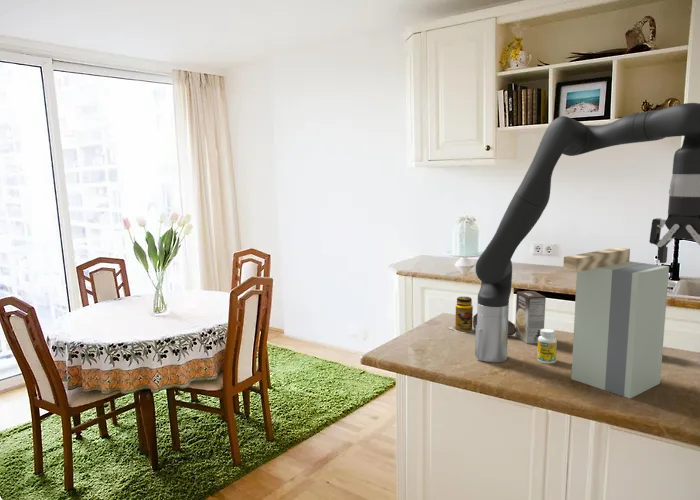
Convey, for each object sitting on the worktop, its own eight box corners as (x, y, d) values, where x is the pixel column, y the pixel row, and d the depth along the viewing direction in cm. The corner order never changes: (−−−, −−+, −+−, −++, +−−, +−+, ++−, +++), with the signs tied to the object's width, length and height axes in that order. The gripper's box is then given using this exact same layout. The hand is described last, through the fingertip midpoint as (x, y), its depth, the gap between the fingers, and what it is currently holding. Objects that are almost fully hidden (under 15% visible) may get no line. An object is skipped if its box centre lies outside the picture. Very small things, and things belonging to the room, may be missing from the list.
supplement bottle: (555, 358, 160) (556, 328, 159) (556, 364, 155) (558, 333, 153) (536, 357, 162) (537, 327, 160) (537, 363, 156) (538, 332, 155)
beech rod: (576, 272, 129) (576, 258, 129) (563, 270, 132) (563, 256, 132) (629, 261, 144) (630, 248, 144) (616, 259, 147) (617, 247, 146)
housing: (629, 398, 131) (638, 273, 127) (571, 378, 144) (577, 264, 140) (660, 383, 140) (669, 266, 136) (602, 366, 153) (608, 258, 149)
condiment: (464, 333, 186) (464, 301, 184) (446, 328, 193) (447, 296, 191) (477, 330, 190) (478, 298, 188) (460, 324, 197) (461, 293, 195)
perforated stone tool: (518, 336, 182) (518, 317, 181) (512, 340, 178) (513, 320, 177) (477, 329, 191) (477, 310, 190) (471, 332, 187) (472, 314, 186)
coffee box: (514, 335, 183) (515, 291, 180) (531, 334, 184) (532, 290, 181) (526, 344, 174) (528, 297, 171) (544, 343, 175) (546, 296, 172)
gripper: (732, 194, 114) (725, 267, 117) (662, 193, 126) (657, 259, 128) (719, 196, 110) (712, 271, 112) (647, 194, 121) (642, 263, 123)
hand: (682, 265), depth 120 cm, fingers open, 8 cm apart
